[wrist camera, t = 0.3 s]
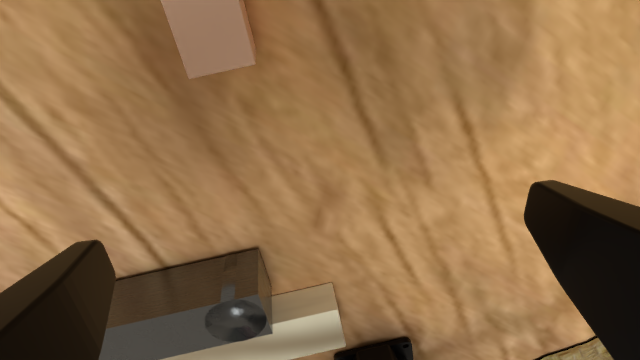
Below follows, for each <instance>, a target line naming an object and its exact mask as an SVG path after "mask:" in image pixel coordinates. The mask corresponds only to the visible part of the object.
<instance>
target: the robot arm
mask: <svg viewBox="0 0 640 360" xmlns="http://www.w3.org/2000/svg"><path fill="white" fill-rule="evenodd" d="M524 221H525V224H526V226H527V228H528V230H529V232H530V233H531V235H532V237H533V239H534V240H535V242H536V244H537V246H538V247H539V249H540V251H541V253H542V254H543V256H544V258H545V260H546V261H547V263H548V265H549V267H550V268H551V270H552V272H553V274H554V275H555V277H556V279H557V280H558V282H559V283H560V285H561V286H562V288H563V289H564V291H565V292H566V294H567V295H568V297H569V298H570V299H571V301H572V302H573V304H574V305H575V306H576V308H577V309H578V311H579V312H580V313H581V315H582V316H583V318H584V319H585V320H586V322H587V323H588V325H589V326H590V327H591V329H592V330H593V332H594V333H595V334H596V336H597V337H598V339H599V340H600V341H601V343H602V344H603V346H604V347H605V348H606V350H607V351H608V353H609V354H610V355H611V357H612V358H613V360H640V207H638V206H635V205H632V204H629V203H626V202H622V201H619V200H616V199H613V198H609V197H606V196H603V195H600V194H597V193H593V192H590V191H587V190H584V189H581V188H577V187H574V186H571V185H568V184H564V183H561V182H558V181H555V180H547V181H540V182H535V183H533V184H532V185H531V187H530V189H529V194H528V198H527V202H526V207H525V211H524ZM115 280H116V276H115V271H114V268H113V266H112V263H111V261H110V259H109V257H108V254H107V252H106V250H105V248H104V245H103V244H102V243H101V242H100V241H99V240H89V241H81V242H77V243H75V244H73V245H71V246H70V247H68V248H67V249H65V250H64V251H62V252H61V253H59V254H58V255H56V256H55V257H54V258H52V259H51V260H49V261H48V262H46V263H45V264H43V265H42V266H40V267H39V268H37V269H36V270H34V271H33V272H31V273H30V274H28V275H27V276H25V277H24V278H22V279H21V280H19V281H18V282H16V283H15V284H13V285H12V286H10V287H9V288H7V289H6V290H4V291H3V292H1V293H0V360H99V356H100V353H101V349H102V345H103V341H104V336H105V331H106V326H107V321H108V316H109V311H110V306H111V301H112V296H113V291H114V286H115ZM334 360H413V352H412V344H411V341H410V339H409V338H402V339H398V340H393V341H389V342H385V343H381V344H376V345H372V346H368V347H363V348H359V349H355V350H350V351H346V352H342V353H338V354H336V355H335V356H334Z"/></svg>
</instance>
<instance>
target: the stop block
mask: <svg viewBox="0 0 640 360" xmlns="http://www.w3.org/2000/svg"><path fill="white" fill-rule="evenodd" d="M161 3H162V6H163V9H164V11H165V14H166V17H167V20H168V23H169V25H170V28H171V31H172V34H173V37H174V39H175V42H176V45H177V48H178V50H179V53H180V56H181V59H182V62H183V64H184V67H185V70H186V73H187V76H188V78H189V79H192V78H196V77H201V76H205V75H210V74H215V73H219V72H224V71H228V70H233V69H238V68H242V67H247V66H251V65H256V47H255V43H254V39H253V35H252V32H251V28H250V24H249V20H248V16H247V12H246V8H245V4H244V1H243V0H161Z"/></svg>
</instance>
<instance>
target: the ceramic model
mask: <svg viewBox="0 0 640 360" xmlns="http://www.w3.org/2000/svg"><path fill="white" fill-rule="evenodd" d="M541 360H613V358H612V357H611V355H610V354H609V353H608V351H607V350H606V348H605V347H604V346H603V344H602V343H601V341H600V340H599V339H598V338H596V339H594V340H592V341H590V342H588V343H586V344H583V345H579V346H576V347H574V348H571V349H569V350H565V351H562V352H559V353H557V354H553V355H549V356H547V357H544V358H542V359H541Z"/></svg>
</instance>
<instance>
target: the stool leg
mask: <svg viewBox="0 0 640 360" xmlns="http://www.w3.org/2000/svg"><path fill="white" fill-rule="evenodd" d="M269 334H273V325H272V293H271V284H270V281H269V278H268V275H267V272H266V269H265V267H264V264H263V261H262V258H261V255H260V252H259V249H256V250H251V251H247V252H242V253H238V254H231V255H228V256H225V257H220V258H216V259H211V260H207V261H203V262H198V263H194V264H189V265H185V266H180V267H176V268H172V269H167V270H163V271H158V272H154V273H149V274H145V275H141V276H136V277H132V278H127V279H123V280H118V281H115V286H114V291H113V296H112V301H111V306H110V311H109V316H108V321H107V326H106V331H105V336H104V341H103V345H102V349H101V353H100V356H99V360H160V359H165V358H169V357H173V356H178V355H182V354H186V353H191V352H195V351H200V350H204V349H208V348H213V347H217V346H221V345H226V344H230V343H234V342H240V341H245V340H249V339H252V338H256V337H260V336H265V335H269Z"/></svg>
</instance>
